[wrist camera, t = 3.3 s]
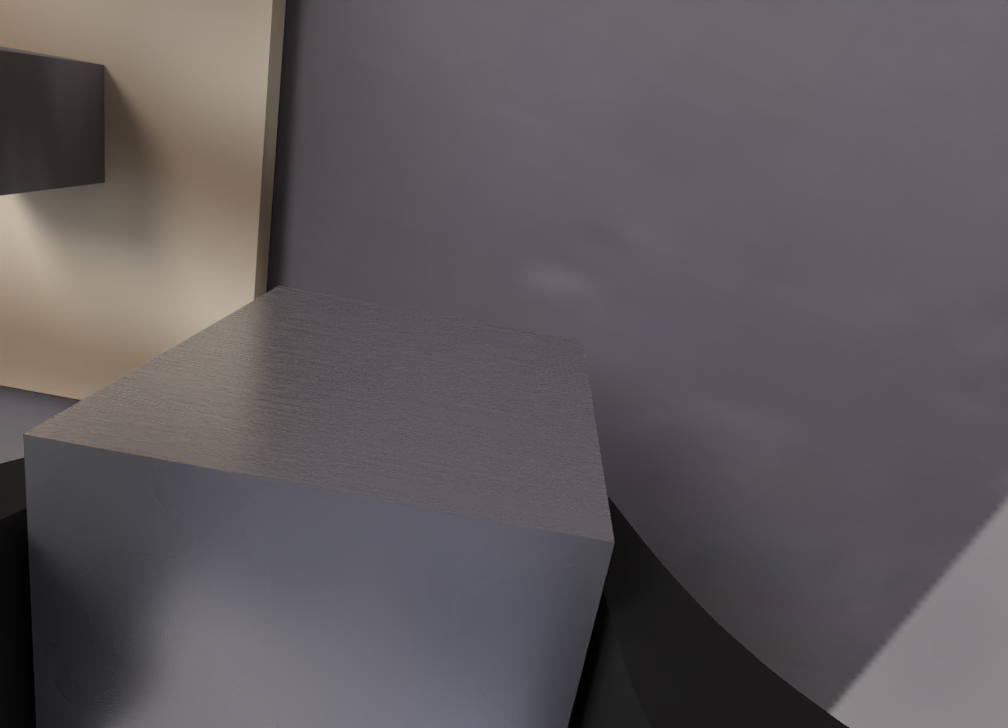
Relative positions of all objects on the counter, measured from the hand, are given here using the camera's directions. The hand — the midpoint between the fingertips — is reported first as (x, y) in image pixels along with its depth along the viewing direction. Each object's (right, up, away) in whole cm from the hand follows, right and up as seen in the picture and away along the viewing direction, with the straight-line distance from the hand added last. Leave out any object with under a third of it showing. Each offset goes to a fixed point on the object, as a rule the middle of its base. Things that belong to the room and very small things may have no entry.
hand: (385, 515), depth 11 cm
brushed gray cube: (0, +1, +2) cm, 2 cm away
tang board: (-9, +8, +7) cm, 14 cm away
